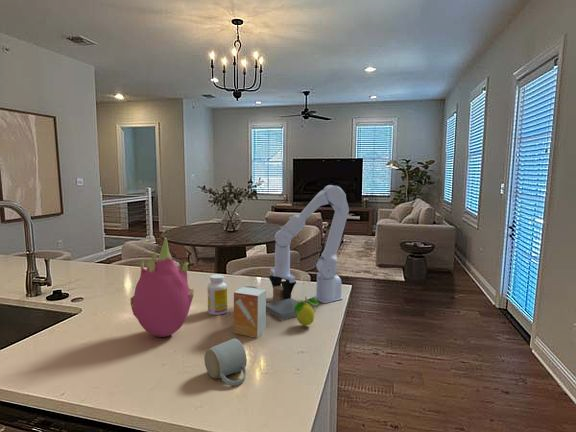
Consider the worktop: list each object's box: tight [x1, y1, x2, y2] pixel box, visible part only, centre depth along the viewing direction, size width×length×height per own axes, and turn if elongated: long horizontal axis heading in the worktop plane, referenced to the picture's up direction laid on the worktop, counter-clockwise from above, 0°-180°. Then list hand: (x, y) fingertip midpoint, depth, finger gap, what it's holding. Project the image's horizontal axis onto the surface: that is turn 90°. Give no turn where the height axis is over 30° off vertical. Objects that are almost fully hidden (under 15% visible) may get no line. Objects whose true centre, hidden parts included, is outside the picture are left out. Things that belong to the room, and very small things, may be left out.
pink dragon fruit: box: [129, 236, 195, 338], centre depth 111 cm, size 18×14×30 cm
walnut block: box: [272, 284, 292, 302], centre depth 144 cm, size 5×5×5 cm
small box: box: [233, 286, 267, 339], centre depth 114 cm, size 8×6×13 cm
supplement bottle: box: [207, 274, 228, 316], centre depth 131 cm, size 7×7×13 cm
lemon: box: [294, 297, 319, 327], centre depth 120 cm, size 7×6×10 cm
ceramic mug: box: [203, 338, 248, 387], centre depth 90 cm, size 11×8×8 cm
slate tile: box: [266, 297, 300, 321], centre depth 133 cm, size 12×12×2 cm
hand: (281, 296), depth 145 cm, fingers open, 7 cm apart
